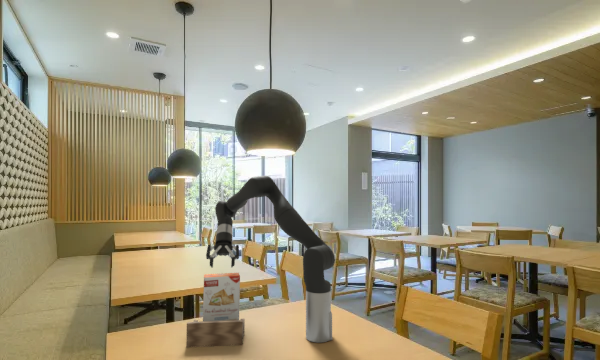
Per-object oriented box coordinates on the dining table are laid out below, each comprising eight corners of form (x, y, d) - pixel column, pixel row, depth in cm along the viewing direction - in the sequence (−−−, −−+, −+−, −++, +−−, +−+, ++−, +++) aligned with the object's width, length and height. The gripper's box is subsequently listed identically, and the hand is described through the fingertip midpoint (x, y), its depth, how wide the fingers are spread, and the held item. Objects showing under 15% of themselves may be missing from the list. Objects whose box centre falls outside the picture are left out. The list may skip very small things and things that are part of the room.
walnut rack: (244, 331, 128) (244, 310, 129) (242, 344, 117) (242, 321, 117) (193, 333, 126) (194, 312, 127) (186, 347, 115) (186, 323, 115)
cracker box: (202, 332, 128) (203, 277, 129) (202, 326, 133) (203, 273, 134) (239, 328, 131) (240, 274, 132) (238, 323, 137) (238, 271, 138)
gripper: (208, 230, 152) (204, 262, 141) (239, 231, 155) (238, 261, 144) (208, 240, 158) (205, 271, 146) (239, 240, 160) (238, 270, 149)
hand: (222, 266), depth 145 cm, fingers open, 8 cm apart
